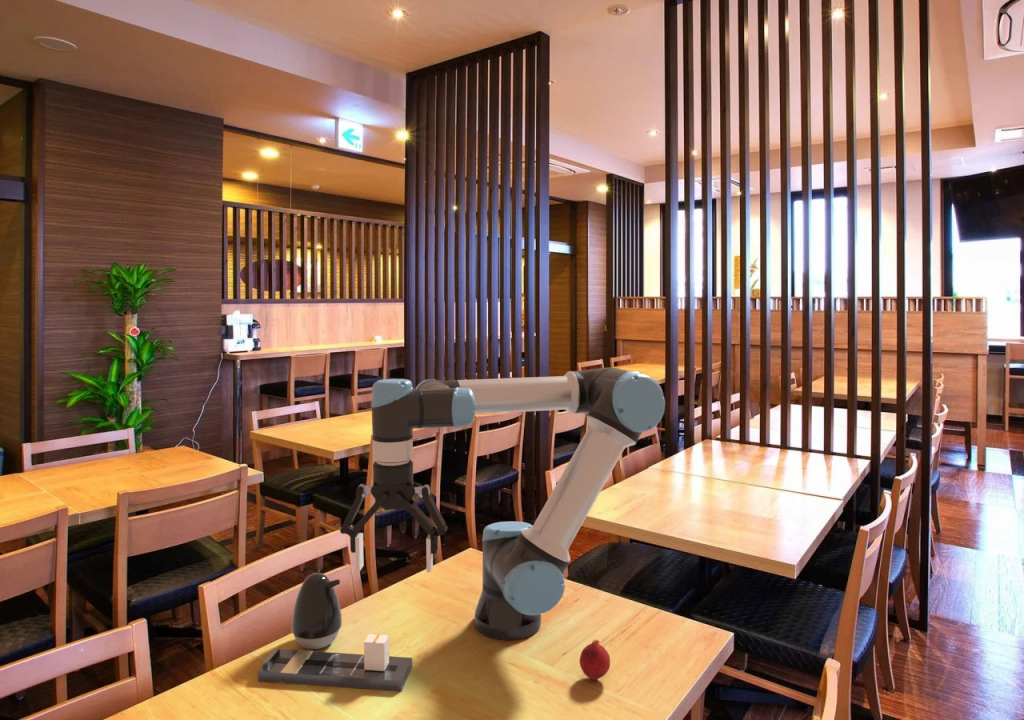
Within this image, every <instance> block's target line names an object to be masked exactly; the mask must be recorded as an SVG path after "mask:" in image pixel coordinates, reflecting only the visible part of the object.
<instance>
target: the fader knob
mask: <svg viewBox="0 0 1024 720" xmlns="http://www.w3.org/2000/svg"><path fill="white" fill-rule="evenodd" d="M363 655H364V670H376V671H385V669H386V667H387V665H388V664H389V656H390V635H387V634H380V633H378V634H373V633H372V634H371V633H370V634H369V633H368V635H367V637H366V638H365V640H364V641H363Z"/></svg>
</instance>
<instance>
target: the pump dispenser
mask: <svg viewBox="0 0 1024 720" xmlns="http://www.w3.org/2000/svg"><path fill="white" fill-rule="evenodd" d="M340 584H341V581H340V579H332V580H330V578H329V577H328V576H327V575H326V574H324V573H321V572H313V573H312V574H309V575H308V576H307V577H305V579H304V581H303V582H302V584H301V586H300V588H299V590H298V594H297V597H296V599H295V603H294V607H293V611H292V619H291V632H292V635H293V636H294V639H295V641H296V642H297V644H298V645H300V646H301V647H303V648H304V649H307V650H319V649H323V648H326V647H328V646H329V645H331V644H332V643H333V642H334V641H336V638H337V637H338V635H339V632H340V630H341V627H342V625H343V624H342V623H343V621H342V612H341V611H342V610H341V606H340V601H339V599H338V595H337V593H336V589H335V587H336V586H339V585H340Z"/></svg>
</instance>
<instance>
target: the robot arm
mask: <svg viewBox="0 0 1024 720" xmlns="http://www.w3.org/2000/svg"><path fill="white" fill-rule="evenodd" d="M371 388H372V389H371V391H372V392H371V427H372V428H371V431H372V460H373V461H374V462H373V463H372V486H370V485H366V484H365V483H364V482H363V483H360V484H359V485H358V487H356V488H355V489H356V491H355V498H354V500H353V503H352V505H351V507H350V509H349V511H348V513H347V515H346V517H345V518H344V521H343V523H342V525H341V527H340V529H339V533H340V534H342V535H344V534H345V535H347V536H349V541H350V552H351V553H353V554H355V572H361V570H362V569H363V567H364V565H365V563H364V562H365V561H364V559H365V558H364V532H360V531H362V529H363V527H365V525H366V524H367V523H368V521H369V520H370V519H371V518H372V517H373V516H374V515H375V514H376V512H377V511H378V510H379V509H380V508H382V509H384V511H388V510H389V511H390V510H395V511H401V510H404V509H405V511H406V512H407V513H409V514H410V516H412V518H413V519H415V521H416V522H417V523H418V524H419V525H420V527H421V528H422V529H423V530H424V531H425V533H427V537H426V540H425V542H426V543H425V544H426V545H425V546H426V551H425V552H426V553H425V554H426V573H431V572H432V570H433V567H434V563H433V562H434V555H436V554H437V552H438V549H439V537H440V536H444V535H445V534H446V533H447V530H448V525H447V524H446V521H445V519H444V517H443V516H442V514H441V511H440V510H439V508H438V506H437V504H436V502H435V500H434V498H433V496H432V492H431V485H430V484H429V483H425V484H423V485H420V486H416V485H415V483H414V462H413V461H412V459H413V458H414V443H413V440H414V439H413V438H414V437H413V434H414V433H413V431H414V430H415V429H417V430H418V429H419V430H420V429H436V428H438V429H439V428H455V429H456V428H459V427H465V426H466V427H467V426H468V427H469V426H471V425H472V424H473V422H474V421H475V418H476V415H483V414H485V415H486V414H503V413H504V414H505V413H520V412H522V413H523V412H541V411H560V410H566V411H567V412H568V413H569V414H570V415H571V414H586V420H587V423H588V427H587V429H586V431H585V434H584V435H583V437H582V439H581V440H580V442H579V443H578V446H577V447H576V448H575V449H576V450H575V451H574V453H573V454H572V457H571V458H570V460H569V462H568V464H567V465H566V467H565V468H564V470H563V472H562V474H561V475H560V478H559V479H558V481H557V483H556V485H555V486H554V487H553V489H552V492H550V493H551V494H550V495H549V497H548V499H547V501H546V502H545V504H544V506H543V507H542V509H541V511H540V513H539V515H538V516H537V518H536V520H535V521H534V524H533V525H532V524H531V523H528V522H525V521H515V520H514V521H512V520H511V521H498V522H494V523H493V522H492V523H491V524H488V525H486V526H485V527H484V529H483V533H482V539H481V542H482V589H481V593H480V596H479V600H478V602H477V606H476V608H475V611H474V626H475V629H476V630H477V631H478V632H479V633H480V634H481V635H484V636H486V637H488V638H491V639H497V640H507V641H511V640H520V638H521V639H524V637H525V638H527V636H528V637H531V636H532V635H534V634H536V633H537V632H538V631H539V630H540V628H541V626H542V615H543V614H545V613H547V612H550V611H551V610H552V609H554V608H555V607H556V606H557V605H558V604H559V603H560V601H561V600H562V597H563V596H564V592H565V589H566V588H565V587H566V586H565V585H566V584H565V577H564V573H565V571H566V569H567V567H568V566H569V564H570V562H571V556H570V553H569V549H570V547H571V545H572V544H573V541H574V539H575V538H576V537H577V534H578V532H579V531H580V529H581V527H582V525H583V523H584V522H585V520H586V518H587V516H588V515H589V513H590V511H591V509H592V507H593V505H594V503H595V502H596V501H597V499H598V497H599V496H600V493H601V492H602V489H603V488H604V486H605V484H606V483H607V481H608V479H609V477H610V476H611V473H612V472H613V469H615V466H616V464H617V463H618V461H619V459H620V458H621V456H622V454H623V452H624V450H625V449H626V448H628V447H632V446H635V445H636V444H637V442H638V441H639V439H640V437H641V435H642V434H643V433H645V432H647V431H650V430H652V429H654V428H655V427H657V425H659V423H660V422H661V420H662V418H663V416H664V413H665V411H666V410H665V409H666V408H665V407H666V400H665V396H664V392H663V389H662V386H660V384H659V383H658V382H657V381H656V380H655V379H654V377H653V378H652V377H651V376H649V375H646V374H644V373H642V372H640V371H635V370H632V371H631V370H626V369H622V368H618V367H602V368H601V367H600V368H593V369H585V370H573V371H572V370H569V371H567V372H566V373H565V374H564V375H560V376H557V375H556V376H537V377H536V376H534V377H533V376H532V377H531V376H529V377H507V378H506V377H504V378H482V379H481V378H480V379H478V378H476V379H457V380H438V379H435V378H433V379H432V378H431V379H425V380H423V381H421V382H419V384H417V386H416V387H415V388H414V387H413V382H412V381H411V380H410V379H406V378H386V379H379V380H376V381H374V383H373V385H372V387H371ZM369 494H371V496H372V497H373V498H374V499H375V502H374V503H373V505H371V507H370V508H369V509H368V510H367V512H366V513H365V514H364V515H363V517H361V519H360V520H359V521H358V522H357V523H356V525H355V526H352V524H353V522H354V520H355V518H356V516H357V515H358V512H359V510H360V507H361V505H362V503H363V501H364V500H365V498H367V497H368V495H369ZM415 494H417V495H418V497H419V498H420V499H422V501H423V503H424V506H425V508H426V509H427V511H428V513H429V516H430V518H431V519H432V521H433V522H432V521H431V520H430V518H428V516H427V515H426V514H425V512H423V510H421V508H420V507H419V506H418V504H417V503H416V501H415V499H413V497H414V496H415ZM540 625H541V626H540ZM538 629H539V630H538ZM537 630H538V631H537ZM536 631H537V632H536ZM535 632H536V633H535ZM533 633H534V634H533ZM531 634H532V635H531Z"/></svg>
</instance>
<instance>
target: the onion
mask: <svg viewBox="0 0 1024 720" xmlns="http://www.w3.org/2000/svg"><path fill="white" fill-rule="evenodd" d="M579 656H580V657H579V665H580V668H581V671H582V673H583V674H584V675H585V676H586V677H587V678H589V679H590V680H593V681H597V680H599V679H601V678H603V677H604V676H605V675H606V674H607V673H608V671H609V670H610V667H611V658H610V653H609V652H608V651H607V649H606V648H605V647H604V646H603V645H602V644H600V640H599V639H598V638H595V639H593V640H592V642H591V643H589V644H588V645H586V646H585V647H584V648H583V649H582V651H581V653H580V655H579Z"/></svg>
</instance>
